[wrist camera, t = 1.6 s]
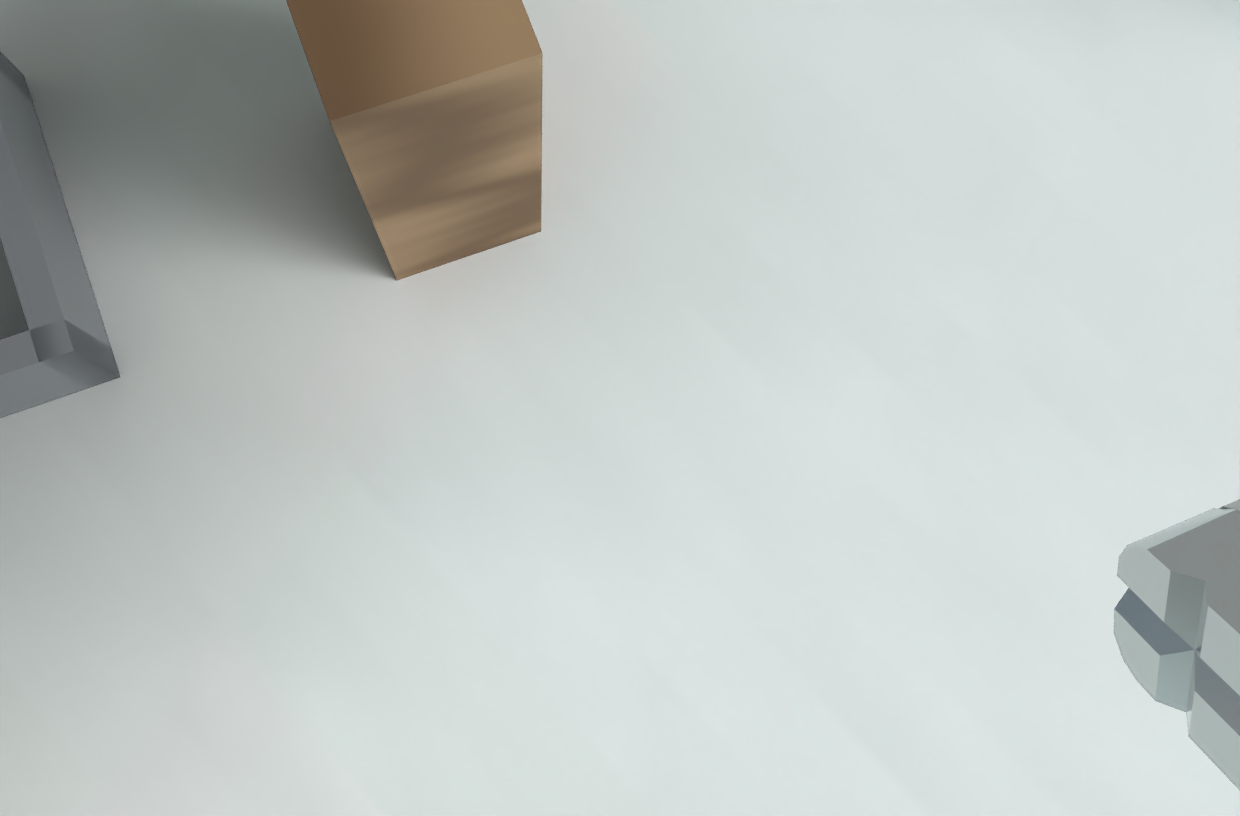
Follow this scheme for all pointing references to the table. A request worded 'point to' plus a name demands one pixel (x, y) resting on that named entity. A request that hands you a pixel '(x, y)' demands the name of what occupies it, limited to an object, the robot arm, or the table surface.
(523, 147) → the brown rectangular block
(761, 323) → the table surface
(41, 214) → the grey l-shaped post
